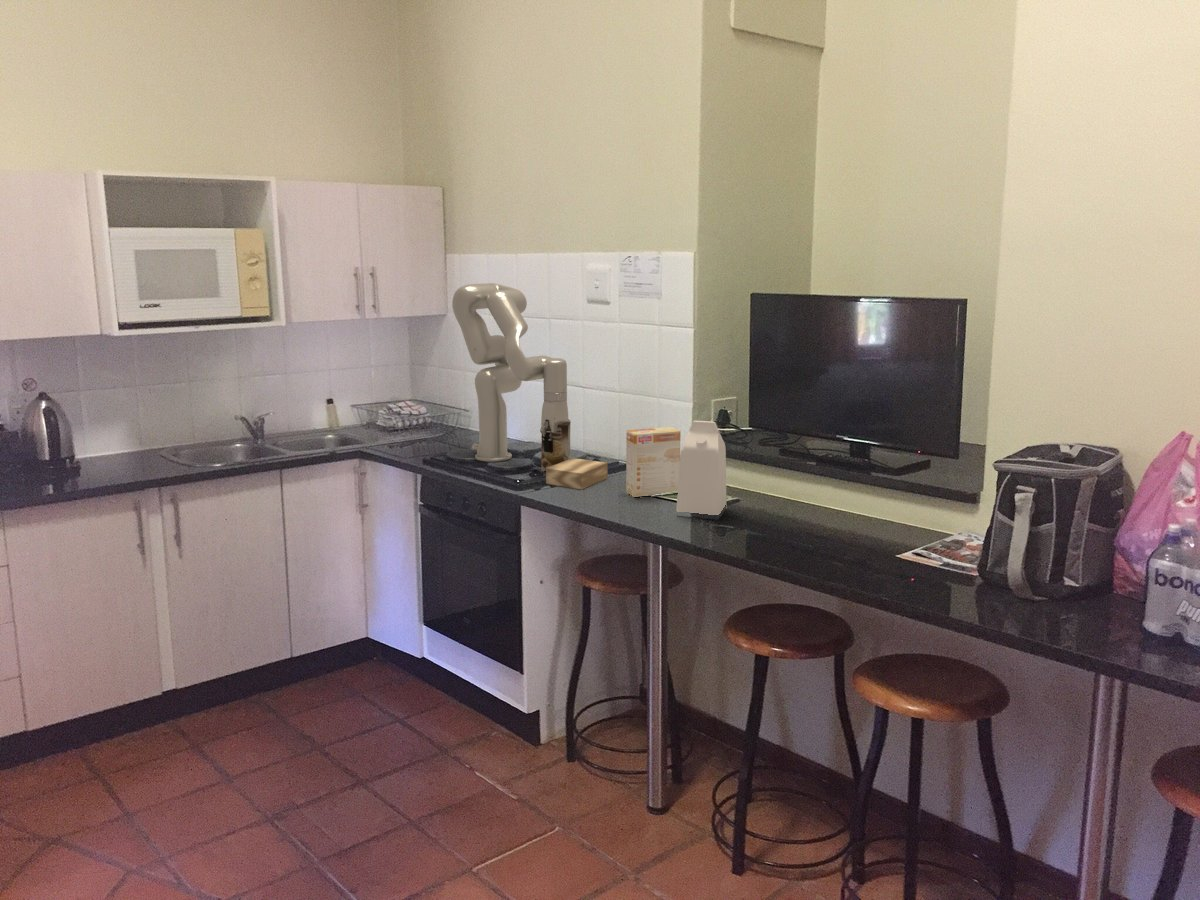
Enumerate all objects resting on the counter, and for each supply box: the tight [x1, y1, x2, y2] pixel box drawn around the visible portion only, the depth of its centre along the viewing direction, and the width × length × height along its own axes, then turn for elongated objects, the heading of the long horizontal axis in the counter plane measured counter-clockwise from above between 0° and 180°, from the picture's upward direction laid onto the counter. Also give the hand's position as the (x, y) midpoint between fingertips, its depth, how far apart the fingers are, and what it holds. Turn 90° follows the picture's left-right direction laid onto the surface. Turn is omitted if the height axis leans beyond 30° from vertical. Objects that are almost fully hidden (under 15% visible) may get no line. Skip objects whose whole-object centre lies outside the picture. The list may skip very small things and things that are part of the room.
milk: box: [675, 420, 727, 515], centre depth 268 cm, size 12×12×26 cm
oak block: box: [545, 457, 609, 490], centre depth 304 cm, size 13×16×5 cm
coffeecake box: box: [625, 426, 681, 498], centre depth 288 cm, size 15×7×20 cm, turn 109°
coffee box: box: [540, 422, 571, 472], centre depth 316 cm, size 9×6×16 cm
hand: (555, 449), depth 316 cm, fingers closed on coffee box, 8 cm apart
